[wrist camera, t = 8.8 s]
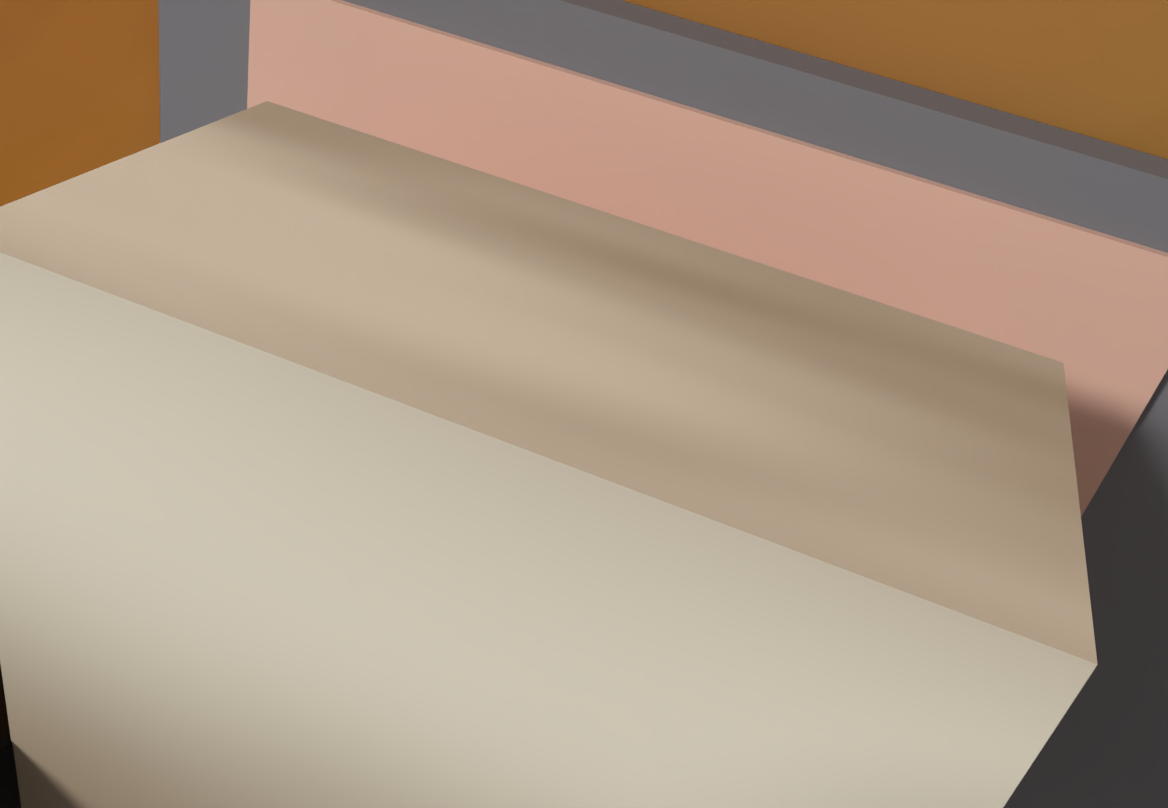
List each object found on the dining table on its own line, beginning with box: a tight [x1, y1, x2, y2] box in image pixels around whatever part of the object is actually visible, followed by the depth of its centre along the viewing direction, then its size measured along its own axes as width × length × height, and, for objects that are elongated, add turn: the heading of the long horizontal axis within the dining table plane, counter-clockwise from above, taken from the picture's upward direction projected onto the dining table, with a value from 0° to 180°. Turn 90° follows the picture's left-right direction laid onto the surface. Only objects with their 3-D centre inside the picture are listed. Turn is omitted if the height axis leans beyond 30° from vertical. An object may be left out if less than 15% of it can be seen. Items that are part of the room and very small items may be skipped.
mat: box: [159, 0, 1168, 808], centre depth 11 cm, size 21×12×1 cm, turn 78°
